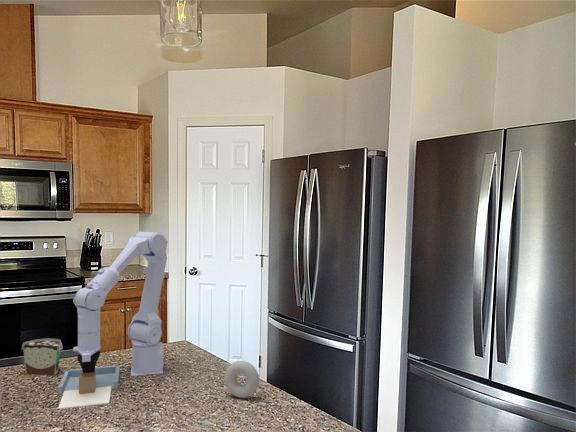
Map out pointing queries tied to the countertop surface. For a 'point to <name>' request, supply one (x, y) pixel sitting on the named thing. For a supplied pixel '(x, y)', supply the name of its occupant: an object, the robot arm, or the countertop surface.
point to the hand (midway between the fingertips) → (88, 379)
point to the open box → (103, 378)
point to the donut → (250, 374)
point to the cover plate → (86, 393)
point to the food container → (42, 356)
